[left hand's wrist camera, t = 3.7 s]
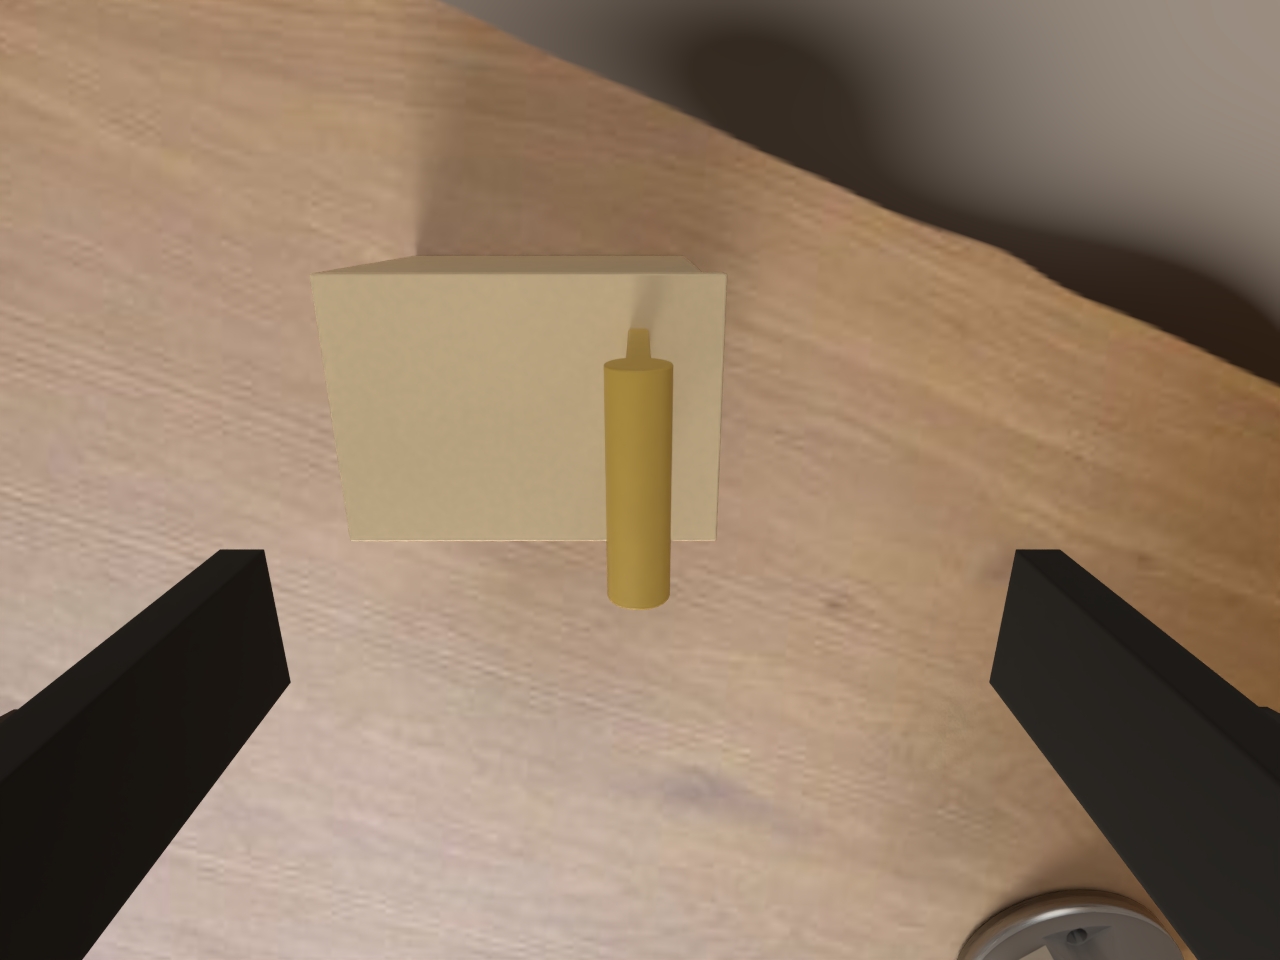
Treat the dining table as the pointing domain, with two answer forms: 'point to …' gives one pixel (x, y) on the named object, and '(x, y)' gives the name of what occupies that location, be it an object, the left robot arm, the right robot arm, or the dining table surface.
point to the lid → (529, 409)
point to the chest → (528, 264)
